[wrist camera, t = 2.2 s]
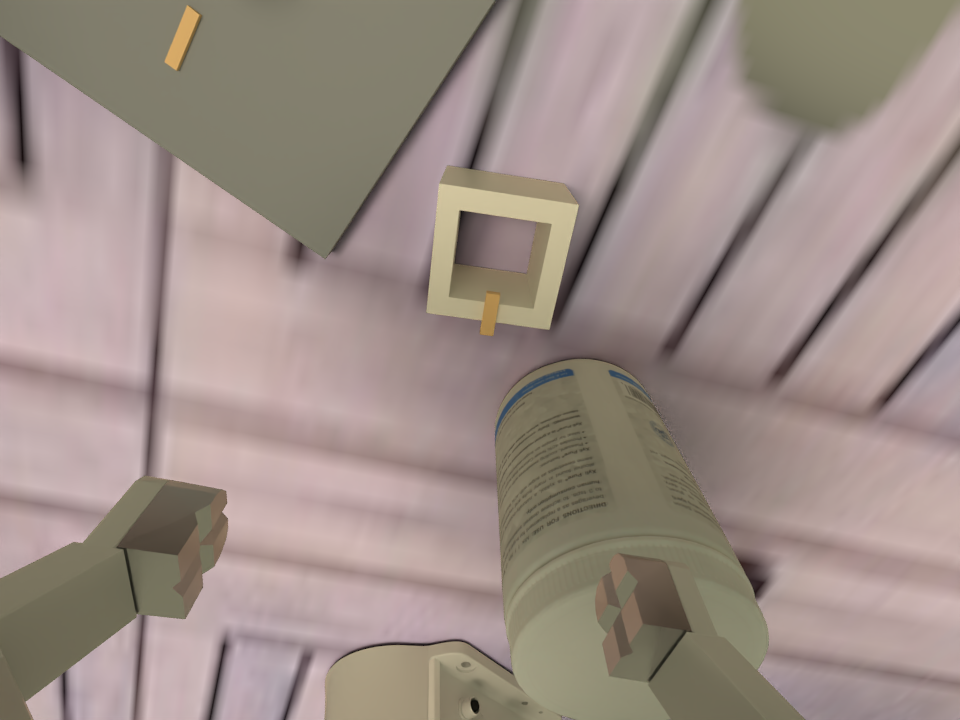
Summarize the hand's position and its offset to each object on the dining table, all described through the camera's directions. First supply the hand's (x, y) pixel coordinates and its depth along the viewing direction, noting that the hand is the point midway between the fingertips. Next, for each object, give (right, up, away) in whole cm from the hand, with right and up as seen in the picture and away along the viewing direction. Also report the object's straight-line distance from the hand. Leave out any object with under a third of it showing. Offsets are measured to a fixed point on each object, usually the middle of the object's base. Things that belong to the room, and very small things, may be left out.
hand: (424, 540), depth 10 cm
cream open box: (+2, +10, +15) cm, 18 cm away
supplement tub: (+7, 0, +20) cm, 22 cm away
